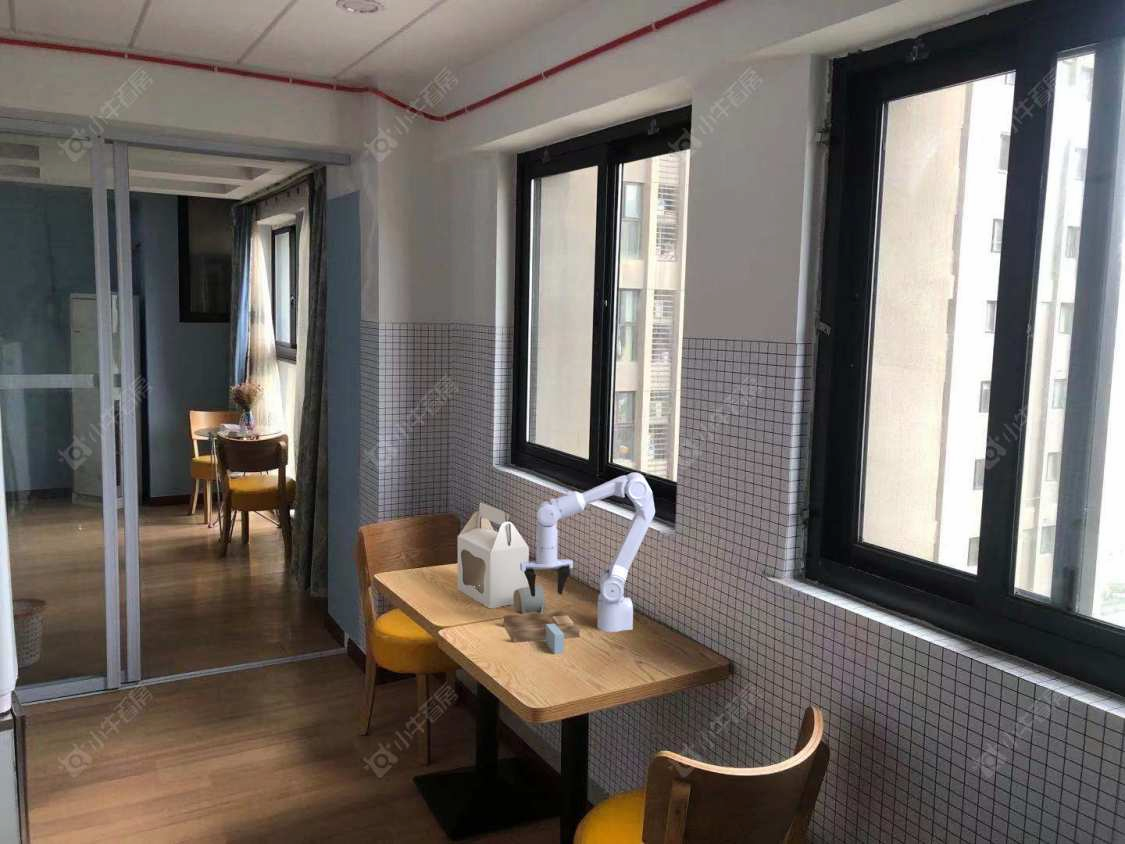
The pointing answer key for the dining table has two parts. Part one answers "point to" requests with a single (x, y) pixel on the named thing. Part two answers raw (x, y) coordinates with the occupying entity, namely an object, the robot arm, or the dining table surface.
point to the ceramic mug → (529, 600)
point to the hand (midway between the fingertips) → (546, 594)
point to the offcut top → (562, 621)
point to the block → (554, 639)
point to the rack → (535, 626)
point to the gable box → (491, 558)
